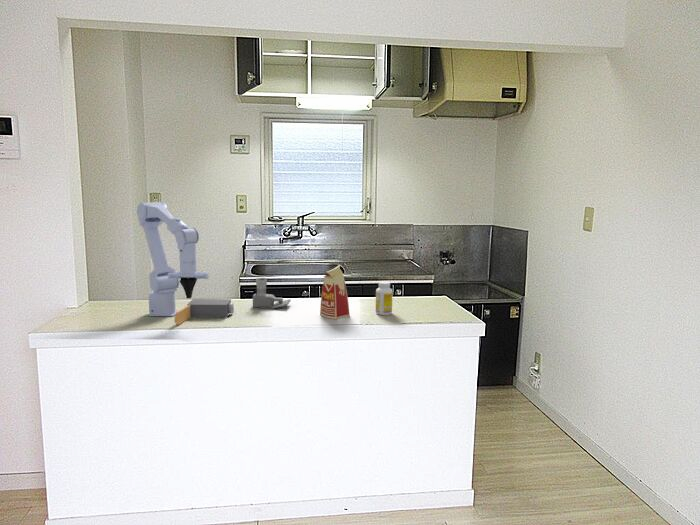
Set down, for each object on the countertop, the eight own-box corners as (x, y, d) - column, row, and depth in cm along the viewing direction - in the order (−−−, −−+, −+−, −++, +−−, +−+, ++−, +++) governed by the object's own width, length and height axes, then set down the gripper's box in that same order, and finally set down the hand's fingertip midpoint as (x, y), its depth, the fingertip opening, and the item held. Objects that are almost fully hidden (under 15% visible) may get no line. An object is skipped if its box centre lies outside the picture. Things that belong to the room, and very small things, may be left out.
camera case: (187, 317, 205) (187, 304, 204) (193, 311, 213) (193, 298, 213) (231, 317, 205) (230, 304, 204) (235, 311, 214) (234, 299, 213)
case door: (187, 316, 204) (187, 304, 204) (191, 316, 204) (190, 304, 203) (174, 324, 193) (174, 312, 192) (178, 325, 193) (178, 312, 192)
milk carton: (334, 311, 217) (335, 263, 213) (350, 316, 210) (351, 266, 207) (317, 315, 210) (318, 265, 207) (333, 320, 204) (334, 269, 200)
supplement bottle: (394, 312, 216) (395, 281, 214) (388, 316, 211) (389, 284, 208) (379, 310, 219) (379, 280, 217) (372, 314, 213) (373, 282, 211)
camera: (256, 276, 225) (291, 278, 224) (256, 303, 227) (290, 305, 226) (251, 280, 216) (287, 282, 216) (251, 308, 218) (287, 310, 218)
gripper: (164, 263, 190) (165, 300, 192) (205, 263, 190) (206, 300, 192) (170, 259, 197) (171, 295, 199) (209, 260, 197) (210, 296, 199)
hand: (189, 297), depth 196 cm, fingers closed
